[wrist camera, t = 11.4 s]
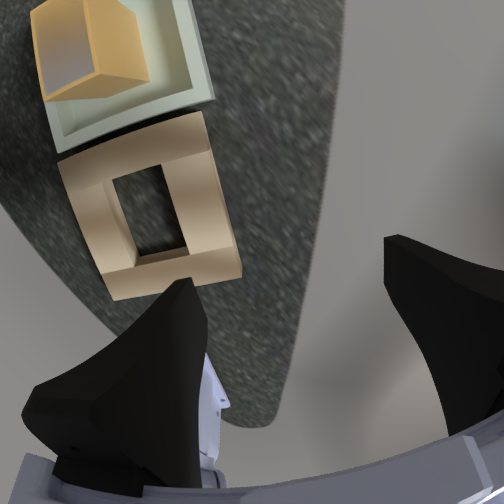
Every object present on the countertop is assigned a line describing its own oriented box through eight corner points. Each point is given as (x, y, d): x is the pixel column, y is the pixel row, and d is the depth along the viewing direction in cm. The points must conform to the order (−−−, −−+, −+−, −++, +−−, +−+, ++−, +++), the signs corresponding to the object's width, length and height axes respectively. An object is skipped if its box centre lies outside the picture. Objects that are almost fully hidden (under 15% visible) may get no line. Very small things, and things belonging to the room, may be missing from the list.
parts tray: (215, 99, 17) (211, 98, 15) (76, 146, 18) (57, 153, 15) (183, -33, 12) (175, -49, 10) (50, 25, 13) (30, 20, 11)
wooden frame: (242, 266, 22) (241, 277, 21) (120, 289, 23) (113, 300, 22) (201, 110, 17) (198, 111, 16) (67, 158, 18) (56, 162, 17)
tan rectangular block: (150, 81, 16) (100, 73, 9) (107, 98, 16) (43, 102, 10) (135, 13, 13) (84, -21, 7) (93, 31, 14) (30, 11, 7)
